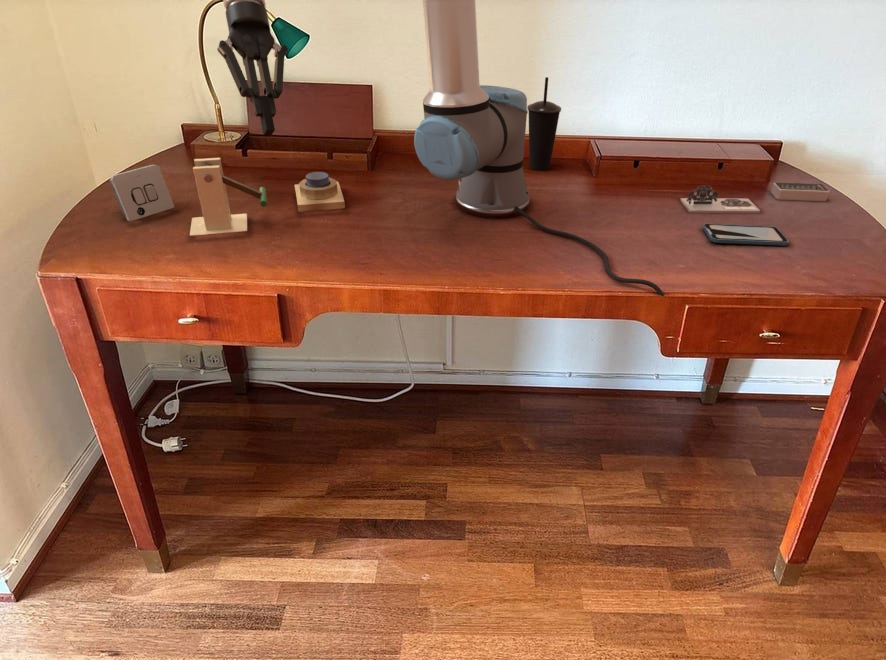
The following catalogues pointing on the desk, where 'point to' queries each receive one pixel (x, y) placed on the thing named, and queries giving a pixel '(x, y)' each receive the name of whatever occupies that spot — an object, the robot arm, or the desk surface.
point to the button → (317, 179)
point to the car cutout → (716, 202)
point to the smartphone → (745, 234)
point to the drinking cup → (542, 131)
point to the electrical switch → (141, 192)
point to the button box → (319, 196)
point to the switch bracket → (214, 202)
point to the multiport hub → (800, 191)
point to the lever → (245, 188)
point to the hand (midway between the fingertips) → (269, 132)
